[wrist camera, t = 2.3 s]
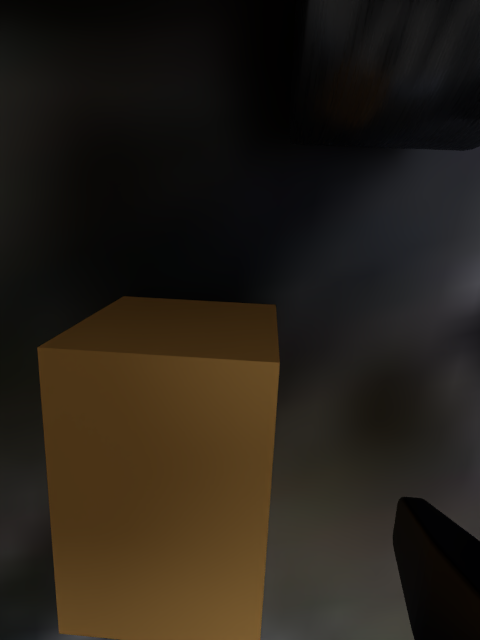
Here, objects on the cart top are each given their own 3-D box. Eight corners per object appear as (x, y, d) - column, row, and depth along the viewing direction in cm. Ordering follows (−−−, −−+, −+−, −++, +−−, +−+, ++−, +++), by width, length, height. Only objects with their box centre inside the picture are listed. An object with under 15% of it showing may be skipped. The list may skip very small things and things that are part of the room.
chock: (262, 502, 13) (258, 653, 8) (129, 491, 13) (58, 632, 9) (275, 303, 11) (279, 363, 7) (124, 295, 12) (37, 347, 7)
